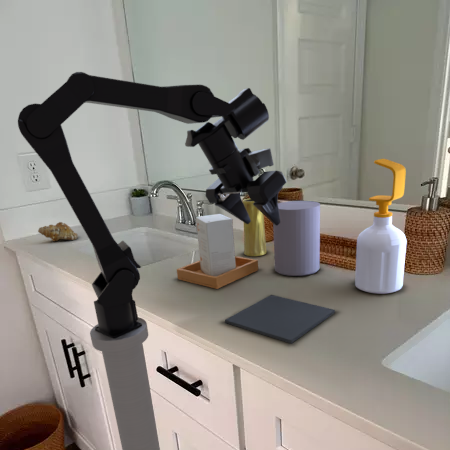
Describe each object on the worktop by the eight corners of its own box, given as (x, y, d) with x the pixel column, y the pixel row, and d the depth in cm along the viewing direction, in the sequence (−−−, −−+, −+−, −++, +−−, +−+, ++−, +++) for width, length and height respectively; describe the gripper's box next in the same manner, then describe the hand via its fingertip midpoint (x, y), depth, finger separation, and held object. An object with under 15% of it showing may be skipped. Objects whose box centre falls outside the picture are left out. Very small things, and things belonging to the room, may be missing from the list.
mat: (291, 343, 67) (291, 340, 67) (224, 322, 76) (224, 319, 76) (334, 312, 77) (335, 309, 76) (271, 297, 86) (271, 294, 85)
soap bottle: (368, 275, 93) (375, 157, 83) (410, 284, 86) (422, 156, 77) (346, 288, 87) (351, 162, 78) (389, 298, 81) (400, 162, 72)
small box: (237, 275, 98) (233, 218, 93) (210, 280, 96) (205, 222, 91) (224, 265, 105) (220, 212, 100) (200, 270, 103) (194, 216, 99)
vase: (260, 257, 111) (257, 202, 106) (239, 255, 114) (236, 201, 109) (270, 251, 116) (268, 197, 110) (250, 249, 119) (248, 197, 114)
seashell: (63, 253, 143) (41, 229, 138) (55, 252, 150) (34, 230, 145) (82, 235, 147) (62, 211, 142) (74, 235, 153) (54, 213, 148)
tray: (217, 289, 92) (216, 278, 91) (177, 279, 100) (176, 269, 99) (258, 270, 102) (258, 260, 101) (219, 262, 110) (218, 253, 109)
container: (297, 260, 107) (296, 199, 101) (328, 269, 99) (330, 203, 93) (265, 269, 101) (263, 206, 96) (296, 280, 94) (295, 211, 88)
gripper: (285, 121, 72) (321, 197, 80) (224, 136, 87) (259, 199, 95) (243, 160, 69) (285, 235, 77) (186, 168, 84) (226, 231, 92)
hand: (263, 223), depth 85 cm, fingers open, 9 cm apart
